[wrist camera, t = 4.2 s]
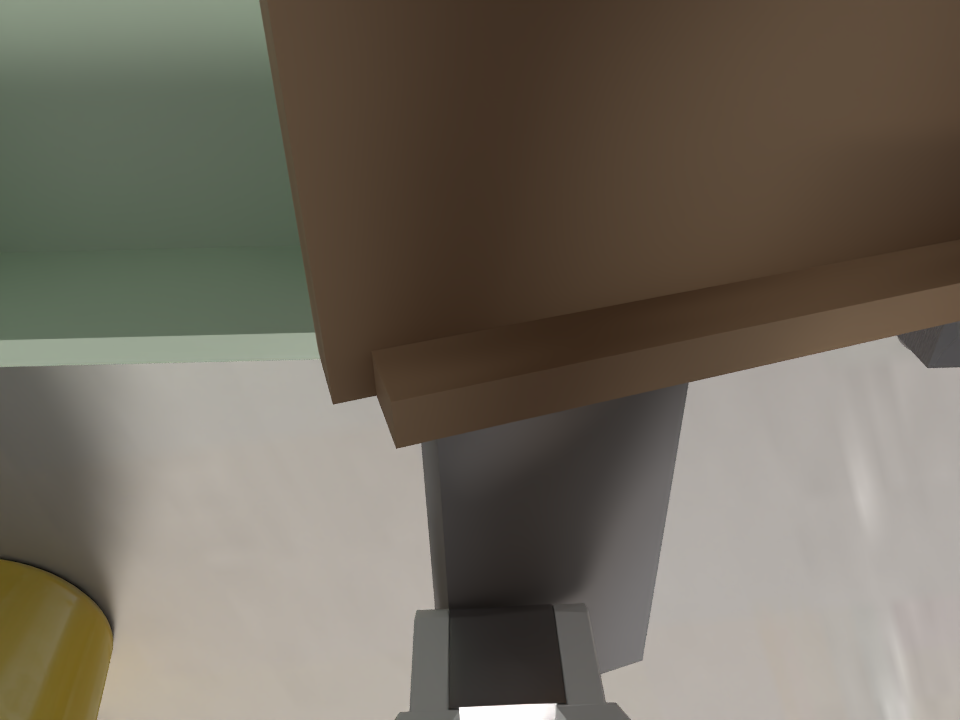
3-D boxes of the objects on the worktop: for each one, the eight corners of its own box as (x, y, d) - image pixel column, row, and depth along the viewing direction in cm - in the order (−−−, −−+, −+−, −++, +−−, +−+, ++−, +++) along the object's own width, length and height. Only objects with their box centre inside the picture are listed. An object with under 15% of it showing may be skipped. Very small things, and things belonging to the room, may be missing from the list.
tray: (291, -382, 12) (205, -509, 8) (365, 257, 18) (338, 358, 14) (-347, -365, 12) (-736, -485, 8) (-52, 268, 18) (-192, 371, 14)
